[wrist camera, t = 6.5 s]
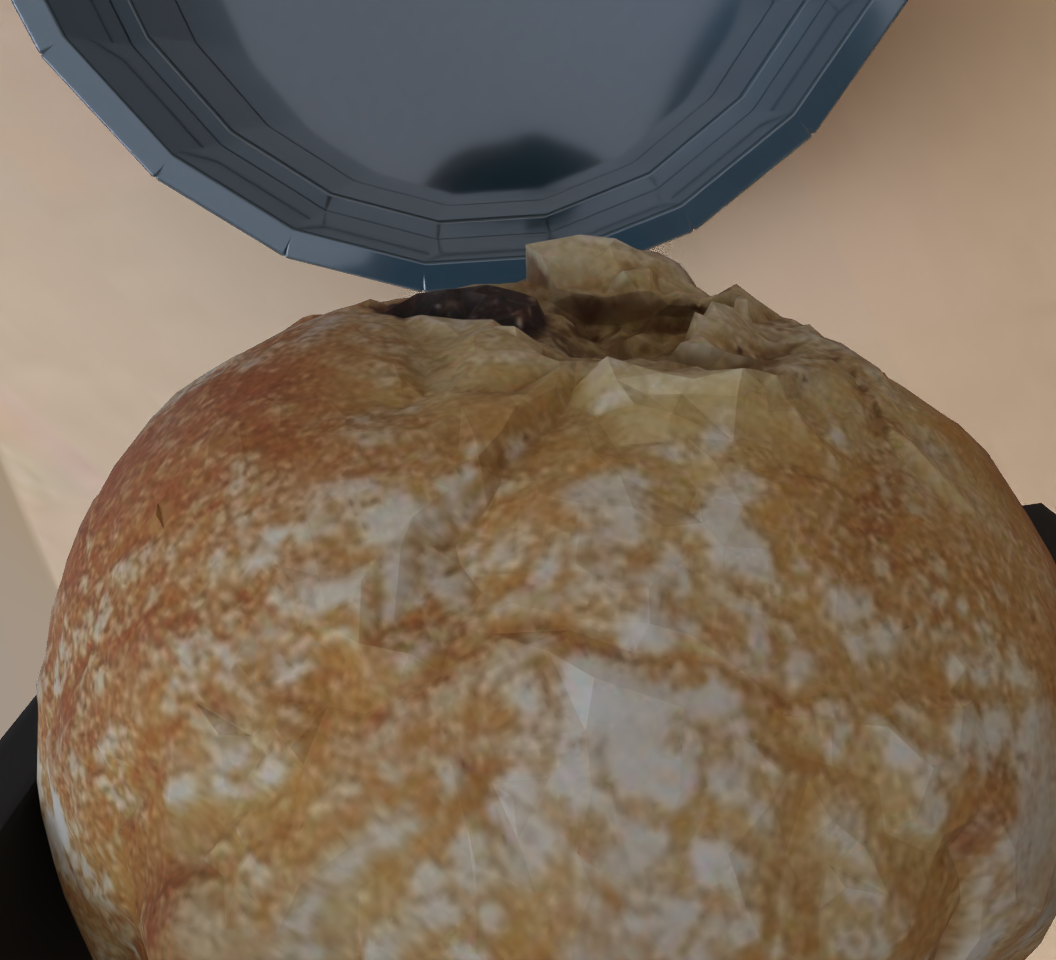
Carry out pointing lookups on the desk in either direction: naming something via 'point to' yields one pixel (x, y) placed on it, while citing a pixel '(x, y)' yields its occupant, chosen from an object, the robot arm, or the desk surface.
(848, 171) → the desk surface
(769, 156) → the dark blue bowl
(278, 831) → the bread roll
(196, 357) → the desk surface
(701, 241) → the desk surface
